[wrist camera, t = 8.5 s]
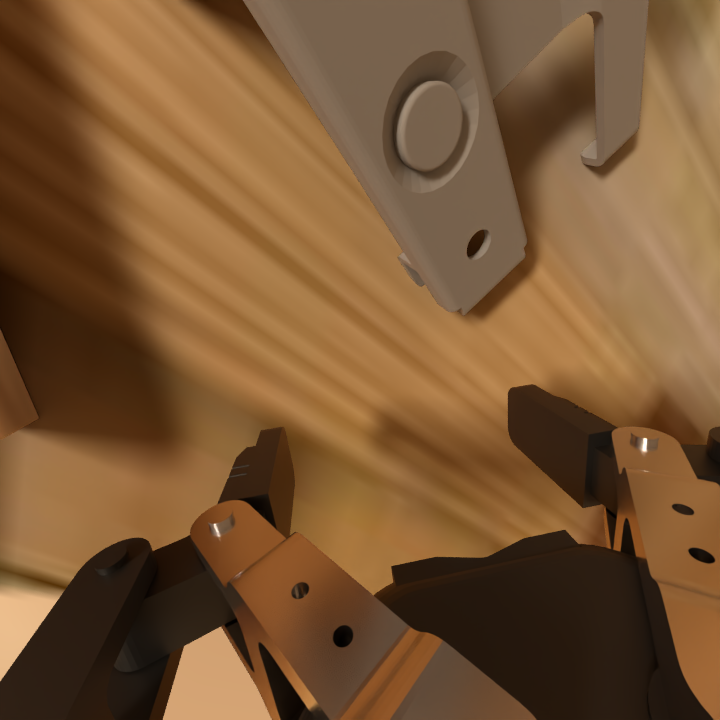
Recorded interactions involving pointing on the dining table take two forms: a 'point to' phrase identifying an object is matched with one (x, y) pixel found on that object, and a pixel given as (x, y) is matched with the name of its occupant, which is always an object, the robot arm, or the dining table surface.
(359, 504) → the dining table surface
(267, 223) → the dining table surface
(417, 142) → the bracket
